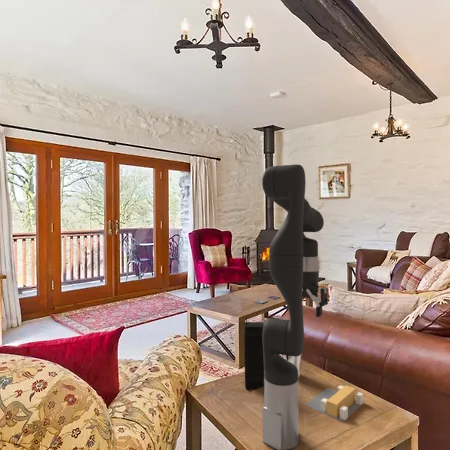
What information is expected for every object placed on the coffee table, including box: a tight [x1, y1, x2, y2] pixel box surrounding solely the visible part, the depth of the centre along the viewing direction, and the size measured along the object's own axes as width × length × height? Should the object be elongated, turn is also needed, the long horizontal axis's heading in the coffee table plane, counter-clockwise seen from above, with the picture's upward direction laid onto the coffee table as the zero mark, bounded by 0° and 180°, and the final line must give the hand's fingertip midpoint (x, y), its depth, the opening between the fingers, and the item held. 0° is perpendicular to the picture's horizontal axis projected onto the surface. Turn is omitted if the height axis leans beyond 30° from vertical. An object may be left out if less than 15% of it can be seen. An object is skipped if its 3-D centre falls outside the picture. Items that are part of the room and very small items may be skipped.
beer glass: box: [282, 354, 302, 378], centre depth 132 cm, size 7×7×15 cm
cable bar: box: [327, 384, 356, 418], centre depth 110 cm, size 13×3×4 cm, turn 135°
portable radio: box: [243, 316, 265, 390], centre depth 126 cm, size 8×6×25 cm
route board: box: [304, 385, 365, 423], centre depth 112 cm, size 15×13×4 cm
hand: (307, 314), depth 124 cm, fingers open, 8 cm apart
